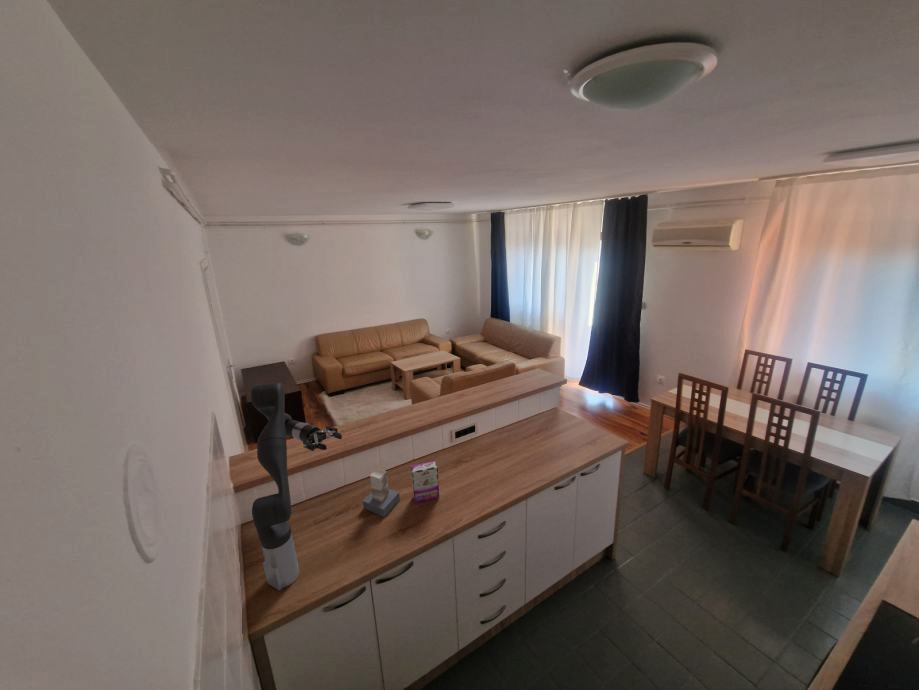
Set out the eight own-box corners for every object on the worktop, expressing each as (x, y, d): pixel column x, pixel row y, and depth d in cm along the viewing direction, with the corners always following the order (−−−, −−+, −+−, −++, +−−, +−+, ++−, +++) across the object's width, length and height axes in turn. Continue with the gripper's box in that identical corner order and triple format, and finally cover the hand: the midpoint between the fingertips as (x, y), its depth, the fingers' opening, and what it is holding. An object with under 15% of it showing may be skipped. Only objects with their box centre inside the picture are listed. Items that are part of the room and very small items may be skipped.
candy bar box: (437, 490, 165) (435, 460, 160) (439, 498, 160) (438, 467, 155) (412, 495, 162) (410, 464, 157) (414, 503, 158) (412, 472, 152)
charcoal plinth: (384, 517, 151) (383, 509, 149) (363, 508, 155) (362, 500, 154) (399, 499, 160) (399, 492, 159) (379, 492, 165) (379, 484, 163)
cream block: (382, 502, 153) (379, 478, 149) (372, 498, 155) (370, 475, 151) (389, 494, 157) (387, 471, 153) (379, 491, 159) (377, 468, 156)
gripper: (290, 433, 150) (319, 443, 143) (317, 417, 162) (345, 425, 155) (293, 449, 152) (321, 459, 145) (319, 432, 164) (347, 441, 157)
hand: (333, 442), depth 150 cm, fingers open, 8 cm apart
